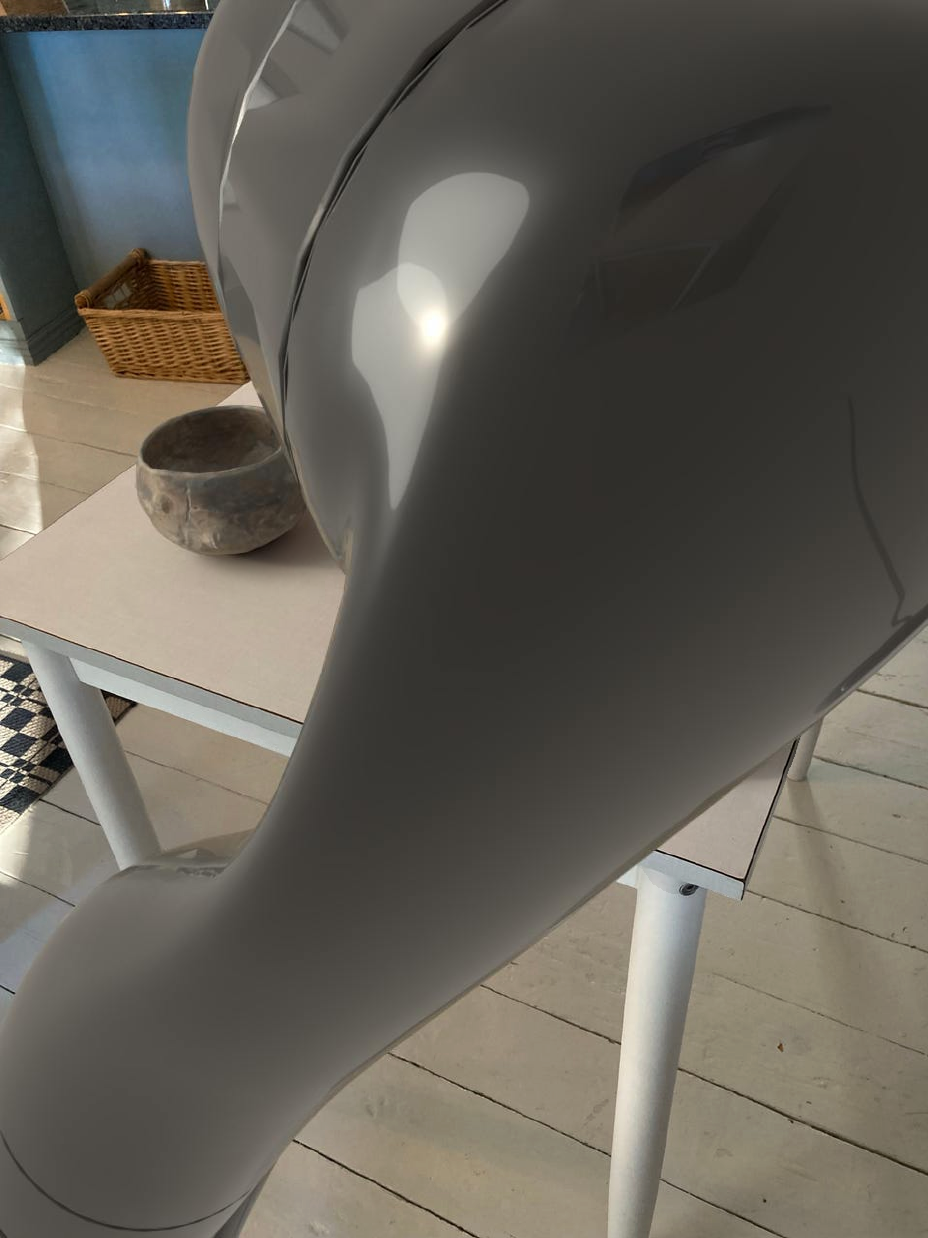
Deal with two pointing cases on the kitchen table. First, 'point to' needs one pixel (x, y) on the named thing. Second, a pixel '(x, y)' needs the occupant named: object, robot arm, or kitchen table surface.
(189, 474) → the bowl
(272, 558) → the kitchen table surface
